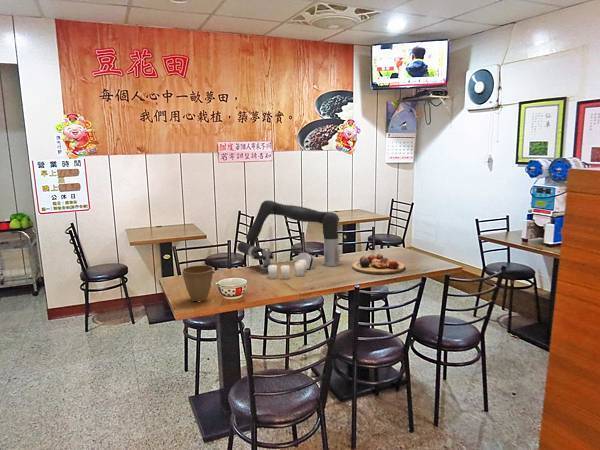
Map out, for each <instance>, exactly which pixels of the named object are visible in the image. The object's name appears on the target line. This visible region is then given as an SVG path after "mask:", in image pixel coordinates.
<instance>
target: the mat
mask: <svg viewBox="0 0 600 450" xmlns="http://www.w3.org/2000/svg"><path fill="white" fill-rule="evenodd" d="M260 274H261V275H269V274H268V269H262V270H260Z"/></svg>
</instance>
